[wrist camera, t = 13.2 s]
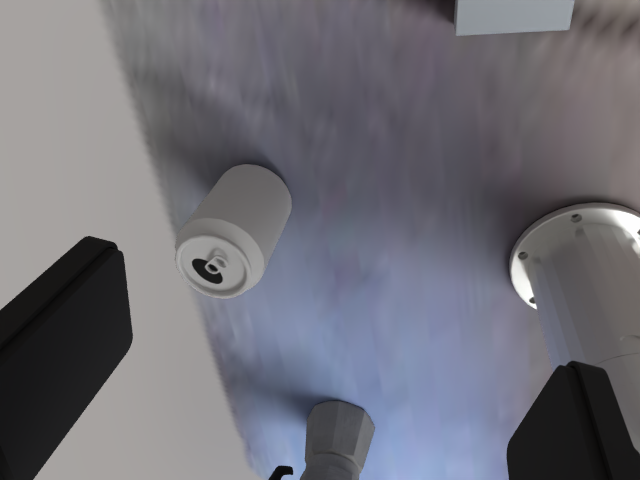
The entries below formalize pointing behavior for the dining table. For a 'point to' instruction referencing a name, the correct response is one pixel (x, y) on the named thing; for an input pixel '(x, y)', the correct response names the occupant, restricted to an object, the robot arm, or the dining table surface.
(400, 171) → the dining table surface
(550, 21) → the slate block
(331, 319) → the dining table surface
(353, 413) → the coffeepot
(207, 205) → the can
